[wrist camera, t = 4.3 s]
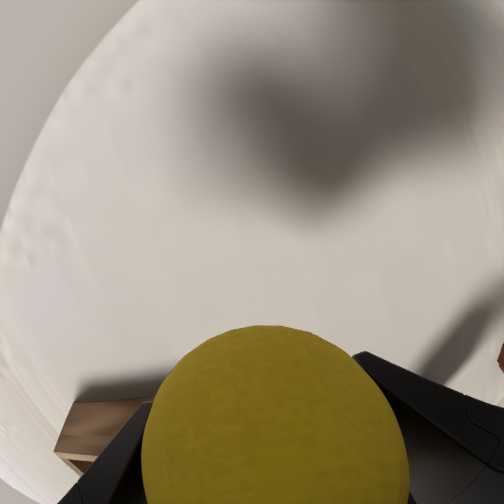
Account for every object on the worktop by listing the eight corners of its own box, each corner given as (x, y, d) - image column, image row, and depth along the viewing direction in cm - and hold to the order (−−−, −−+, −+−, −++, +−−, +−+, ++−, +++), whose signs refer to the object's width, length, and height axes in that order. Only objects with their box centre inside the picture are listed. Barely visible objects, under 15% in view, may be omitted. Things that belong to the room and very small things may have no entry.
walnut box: (195, 387, 18) (195, 452, 13) (235, 459, 22) (242, 508, 16) (74, 400, 18) (53, 451, 12) (133, 467, 21) (128, 511, 16)
